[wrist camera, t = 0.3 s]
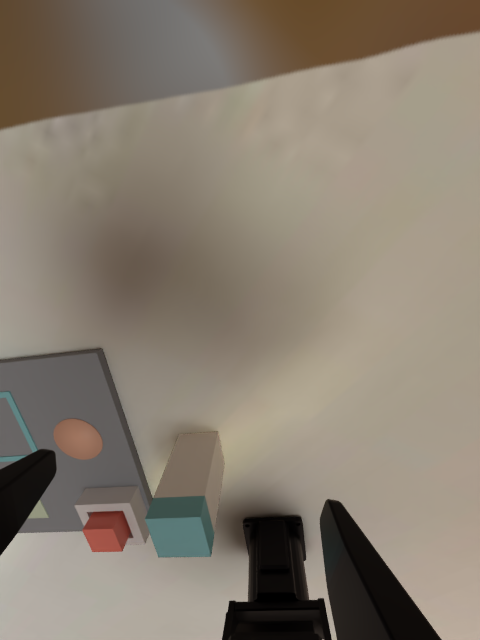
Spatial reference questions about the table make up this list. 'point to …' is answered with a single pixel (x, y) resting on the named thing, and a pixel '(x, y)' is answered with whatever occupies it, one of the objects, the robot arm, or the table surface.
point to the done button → (107, 531)
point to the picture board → (73, 440)
